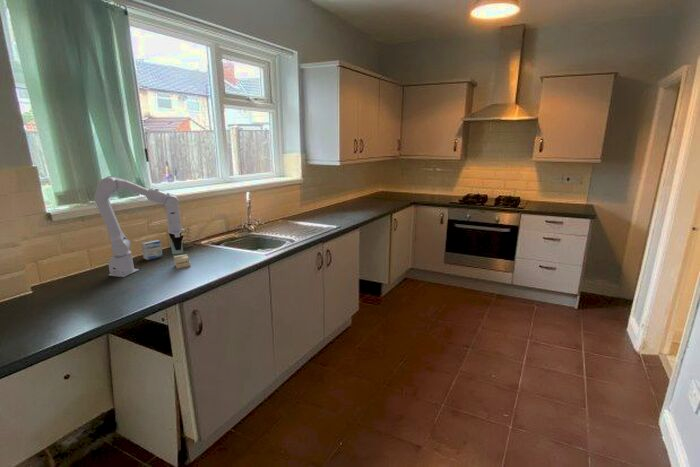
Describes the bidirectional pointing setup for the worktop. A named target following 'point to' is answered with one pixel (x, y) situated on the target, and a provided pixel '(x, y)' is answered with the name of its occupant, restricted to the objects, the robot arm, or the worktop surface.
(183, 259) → the upper slab
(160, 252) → the medicine box
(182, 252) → the teal block
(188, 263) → the lower slab
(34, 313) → the worktop surface
